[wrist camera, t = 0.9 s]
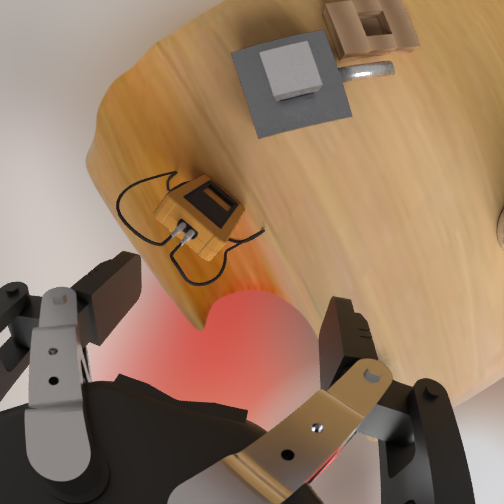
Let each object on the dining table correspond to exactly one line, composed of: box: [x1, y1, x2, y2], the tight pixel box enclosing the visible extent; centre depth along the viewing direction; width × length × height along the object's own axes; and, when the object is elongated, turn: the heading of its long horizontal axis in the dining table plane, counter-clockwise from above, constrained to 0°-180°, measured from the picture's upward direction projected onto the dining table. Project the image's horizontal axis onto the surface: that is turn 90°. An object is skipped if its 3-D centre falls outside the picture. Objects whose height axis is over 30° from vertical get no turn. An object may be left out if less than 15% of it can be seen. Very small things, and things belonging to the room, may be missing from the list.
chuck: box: [231, 30, 395, 139], centre depth 29 cm, size 17×10×7 cm, turn 107°
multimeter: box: [116, 171, 265, 286], centre depth 32 cm, size 15×10×20 cm
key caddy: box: [322, 0, 421, 61], centre depth 27 cm, size 10×7×4 cm
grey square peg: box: [259, 41, 323, 101], centre depth 26 cm, size 4×4×12 cm
